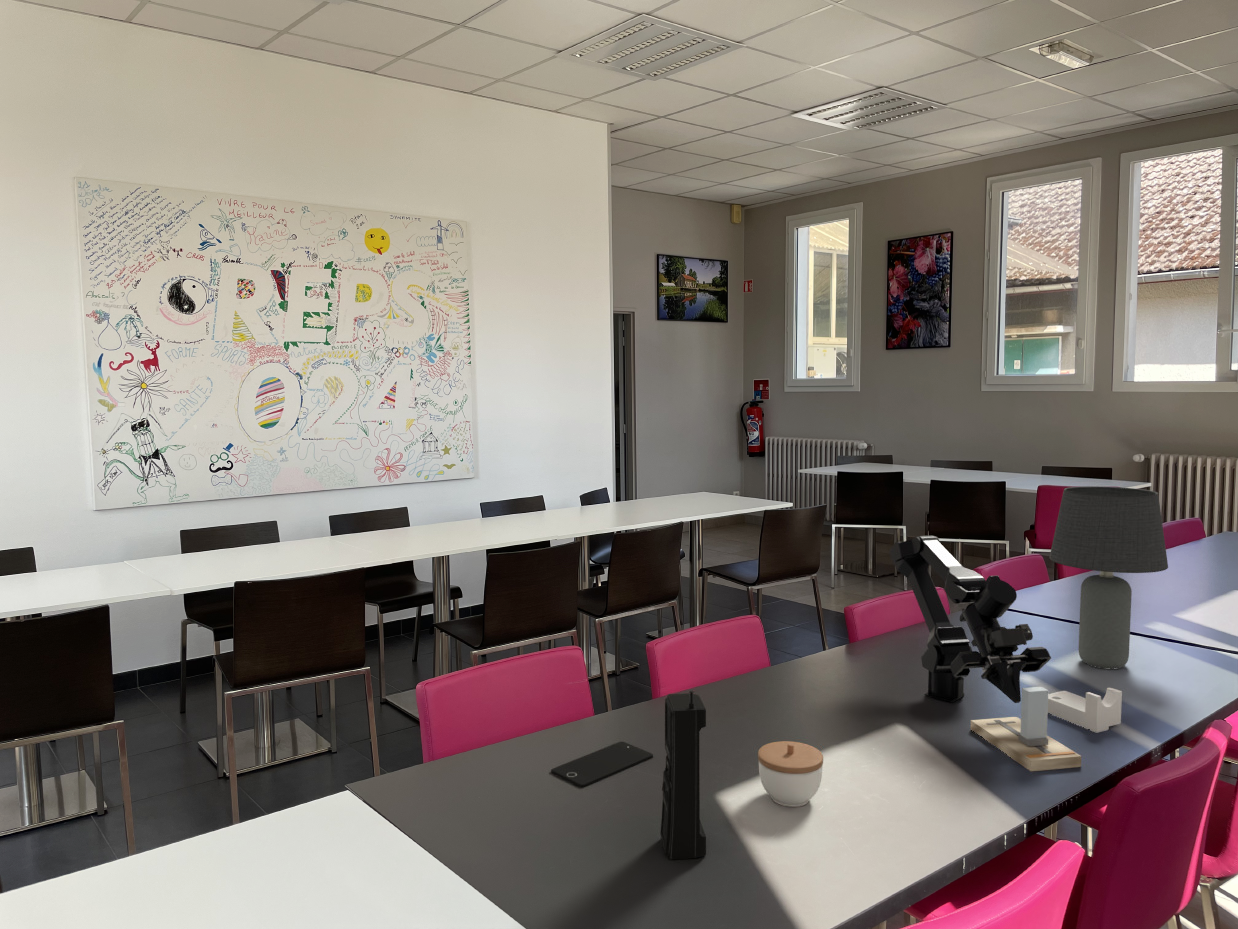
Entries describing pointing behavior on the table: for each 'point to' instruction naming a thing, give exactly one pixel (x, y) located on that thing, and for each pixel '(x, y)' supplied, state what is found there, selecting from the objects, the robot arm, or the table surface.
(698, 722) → the portable radio
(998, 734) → the slider board
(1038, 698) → the fader tab
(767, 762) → the lidded jar
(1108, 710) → the bracket
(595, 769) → the cell phone
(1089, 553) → the lamp
